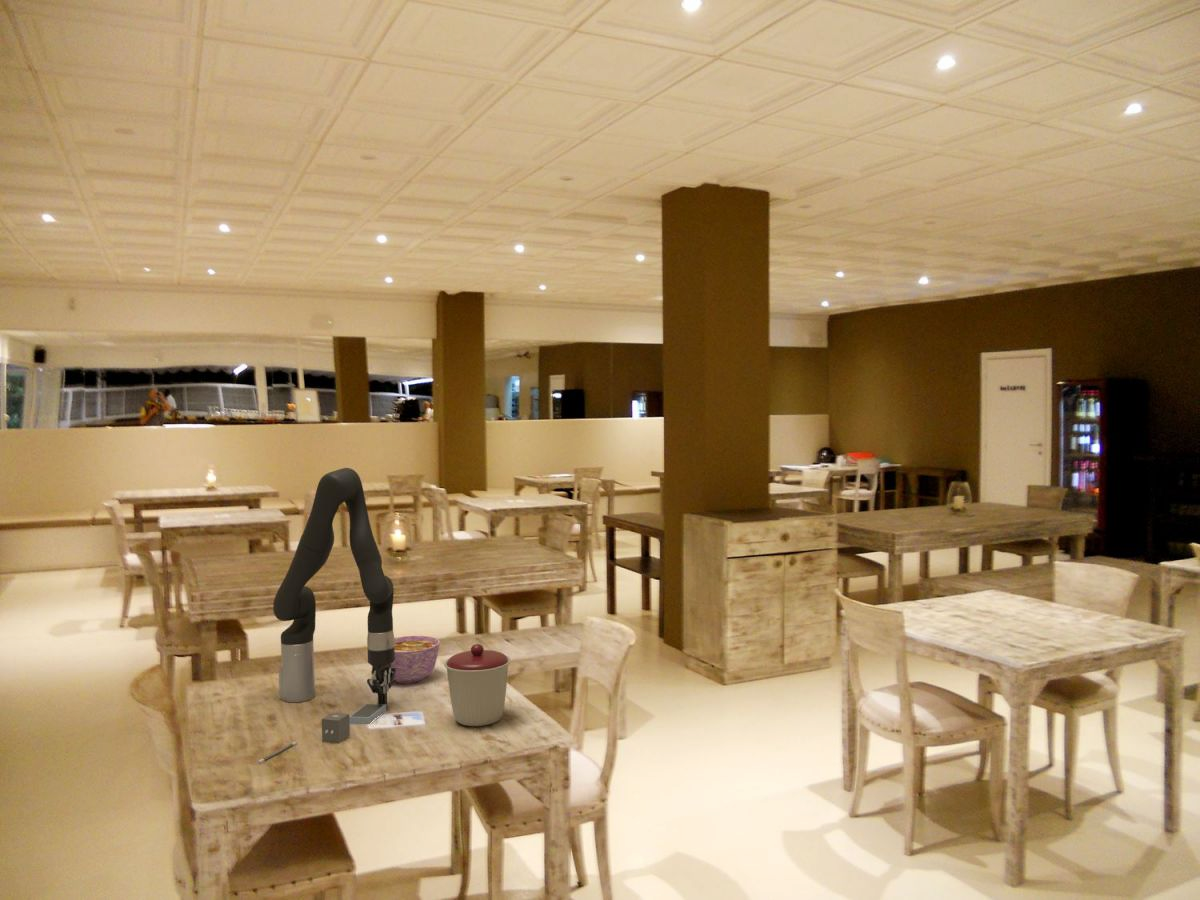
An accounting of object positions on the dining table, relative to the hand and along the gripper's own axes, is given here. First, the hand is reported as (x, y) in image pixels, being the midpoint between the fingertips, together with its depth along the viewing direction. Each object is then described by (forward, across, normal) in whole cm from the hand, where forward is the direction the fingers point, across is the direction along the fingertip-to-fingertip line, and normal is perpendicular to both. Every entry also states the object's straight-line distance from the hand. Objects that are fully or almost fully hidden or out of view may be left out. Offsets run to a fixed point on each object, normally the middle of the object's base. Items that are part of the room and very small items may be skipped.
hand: (382, 705), depth 246 cm
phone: (+1, -7, +1) cm, 7 cm away
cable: (+1, -35, +10) cm, 37 cm away
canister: (+1, -3, -31) cm, 31 cm away
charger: (+1, -24, +1) cm, 24 cm away
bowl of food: (+1, +28, +6) cm, 28 cm away
